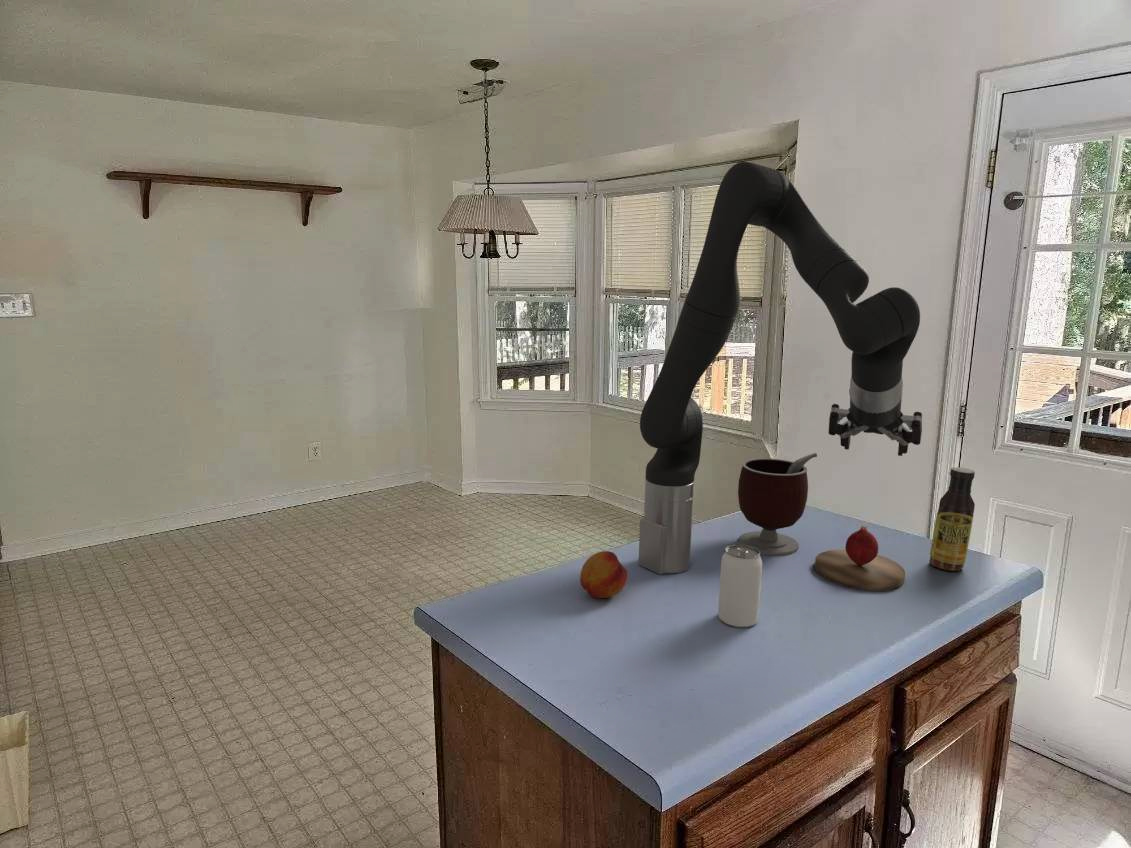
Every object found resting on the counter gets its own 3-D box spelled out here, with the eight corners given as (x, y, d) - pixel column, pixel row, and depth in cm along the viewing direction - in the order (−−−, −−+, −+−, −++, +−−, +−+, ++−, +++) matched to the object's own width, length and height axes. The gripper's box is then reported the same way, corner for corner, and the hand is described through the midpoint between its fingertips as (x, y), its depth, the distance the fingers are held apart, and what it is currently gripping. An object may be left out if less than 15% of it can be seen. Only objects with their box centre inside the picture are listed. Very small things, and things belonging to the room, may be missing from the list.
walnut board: (876, 598, 128) (877, 590, 128) (798, 569, 140) (798, 561, 140) (920, 576, 138) (921, 568, 137) (843, 550, 150) (843, 543, 150)
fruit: (622, 608, 123) (624, 564, 121) (576, 603, 125) (576, 559, 123) (628, 589, 130) (630, 547, 129) (584, 584, 132) (585, 542, 130)
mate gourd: (743, 556, 146) (750, 461, 142) (727, 532, 159) (733, 444, 155) (820, 557, 146) (829, 461, 142) (797, 533, 160) (805, 445, 155)
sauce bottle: (929, 569, 141) (942, 471, 137) (927, 558, 146) (939, 463, 142) (967, 575, 138) (981, 475, 134) (963, 563, 144) (977, 467, 140)
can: (759, 614, 121) (764, 546, 119) (756, 631, 115) (761, 561, 113) (720, 607, 124) (724, 541, 121) (715, 624, 118) (719, 555, 115)
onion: (881, 572, 135) (885, 532, 134) (850, 571, 136) (854, 531, 134) (869, 560, 141) (873, 521, 139) (839, 559, 141) (843, 520, 140)
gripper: (928, 377, 112) (921, 435, 124) (831, 369, 118) (833, 426, 130) (923, 416, 108) (916, 472, 120) (823, 406, 114) (826, 461, 127)
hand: (873, 448), depth 125 cm, fingers open, 8 cm apart
